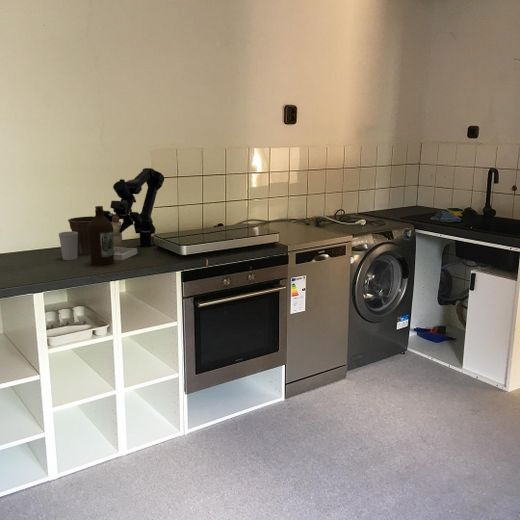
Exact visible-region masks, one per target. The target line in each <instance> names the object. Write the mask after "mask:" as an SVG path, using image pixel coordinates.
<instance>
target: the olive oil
mask: <svg viewBox="0 0 520 520" xmlns="http://www.w3.org/2000/svg"><path fill="white" fill-rule="evenodd" d="M94 209H95V210H94V212H95V215H94V216H95V217H94V218H93V219H92V220H91V222H90V223H89V225H88V229H87V231H88V239H89V248H90V254H89V256H90V257H89V258H90V265H91V266H93V267H94V266H95V267H106V266H111V265H114V264H115V260H114V229H113V225H112V223H111V222H110V221H109V220H108V219H107V218H106V217H105V216H104V211H105V209H104V206H103V205H97V206H96V205H95V207H94Z"/></svg>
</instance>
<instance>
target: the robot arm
mask: <svg viewBox="0 0 520 520" xmlns="http://www.w3.org/2000/svg"><path fill="white" fill-rule="evenodd" d="M164 182H165V176H164V174H162V172H160V171H157V170H155V169H154V168H151V167H150V168H148V167H145V168H142V169H141V171H140V173H138V174H137V176H135V177H133V179H128V180H127V181H126V180H125V179H124V178H120V179H119V180H118V181H116V182H115V183H113V186H112V188H113V189H112V190H114V192H115V194H116V195H117V197H118V198H121V199H120V200H111V202H110V209H112V211H113V212H114V213H113V212H111V211H110V210H104V216H105V217H106V218H107V219H108V220H109V221H110V222H113V220H112V217H113V216H114V215H118V216H119V218H120V220H122V222H121V228H120V231H119V232H120V233H122V234H123V233H124V231H126V229H128V228H129V227H131V226H133V228H134V231H135V233H134V234H139V244H137V245H136V246H137V247H145V246H150V247H151V245H152V246H154V245H153V243H154V242H153V239H152V235H155V233H156V226H155V225H154V221H153V218H152V213H153V210H154V205H155V201H156V197H157V195H158V194H157V193H158V191H159V190H160V189H161V188H162V187H163V184H164ZM144 184H146V186H147V190H146V193H145V197H144V200H143V204H142V208H141V211H140V213H139V211H133V209H132V208H133V204H135V203H137V199H136V197H135V195H139V194H140V193H141V192H142V190H143V188H142V187H143V186H144ZM152 242H153V243H152Z"/></svg>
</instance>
